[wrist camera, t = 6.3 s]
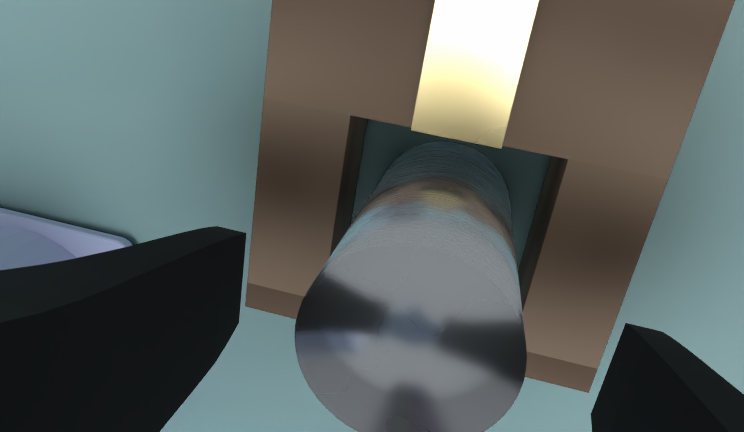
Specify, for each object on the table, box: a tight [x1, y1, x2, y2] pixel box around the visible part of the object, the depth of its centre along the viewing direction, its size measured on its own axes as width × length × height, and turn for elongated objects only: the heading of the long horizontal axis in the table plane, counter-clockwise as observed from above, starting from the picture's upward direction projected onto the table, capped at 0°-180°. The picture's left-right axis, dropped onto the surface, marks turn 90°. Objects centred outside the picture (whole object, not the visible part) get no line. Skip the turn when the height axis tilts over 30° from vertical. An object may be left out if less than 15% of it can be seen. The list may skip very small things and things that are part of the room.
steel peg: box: [295, 141, 527, 432], centre depth 13 cm, size 4×4×8 cm
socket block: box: [245, 0, 735, 393], centre depth 15 cm, size 12×10×2 cm
